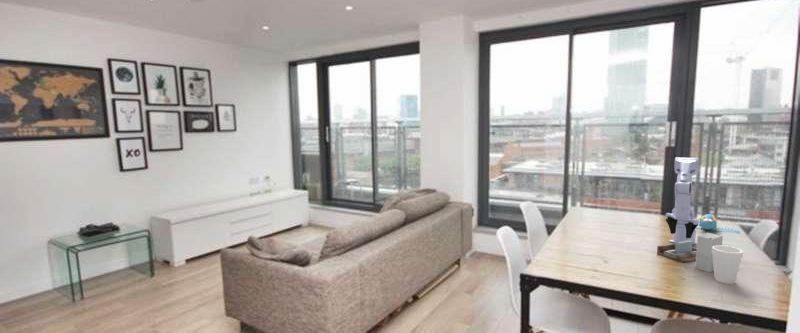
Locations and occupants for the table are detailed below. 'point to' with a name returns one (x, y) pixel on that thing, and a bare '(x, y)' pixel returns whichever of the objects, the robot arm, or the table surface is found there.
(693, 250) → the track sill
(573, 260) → the table surface
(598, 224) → the table surface
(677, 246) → the door panel
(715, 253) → the foam cup
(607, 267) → the table surface
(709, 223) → the blue toy animal
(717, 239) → the skincare box
